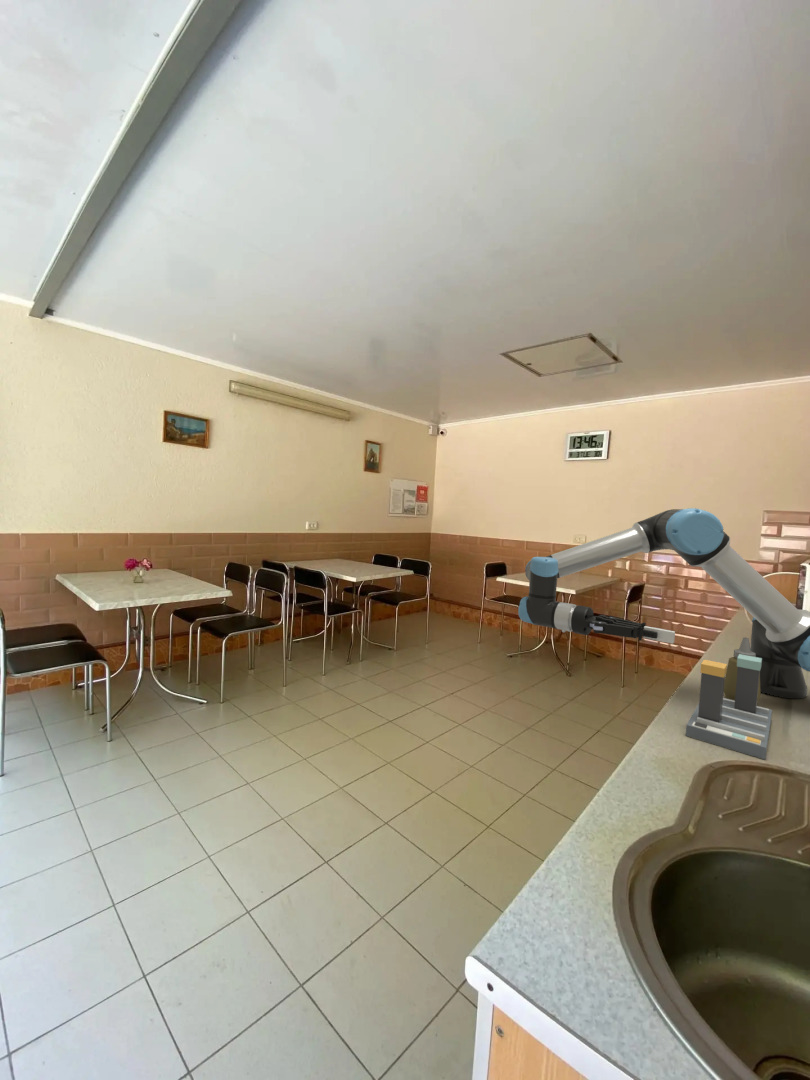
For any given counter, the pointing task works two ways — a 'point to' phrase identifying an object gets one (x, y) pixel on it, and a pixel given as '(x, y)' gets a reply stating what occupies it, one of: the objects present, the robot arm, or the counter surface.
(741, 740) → the console
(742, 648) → the squeeze bottle
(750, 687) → the mint capped grey block
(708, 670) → the orange capped grey block
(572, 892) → the counter surface
